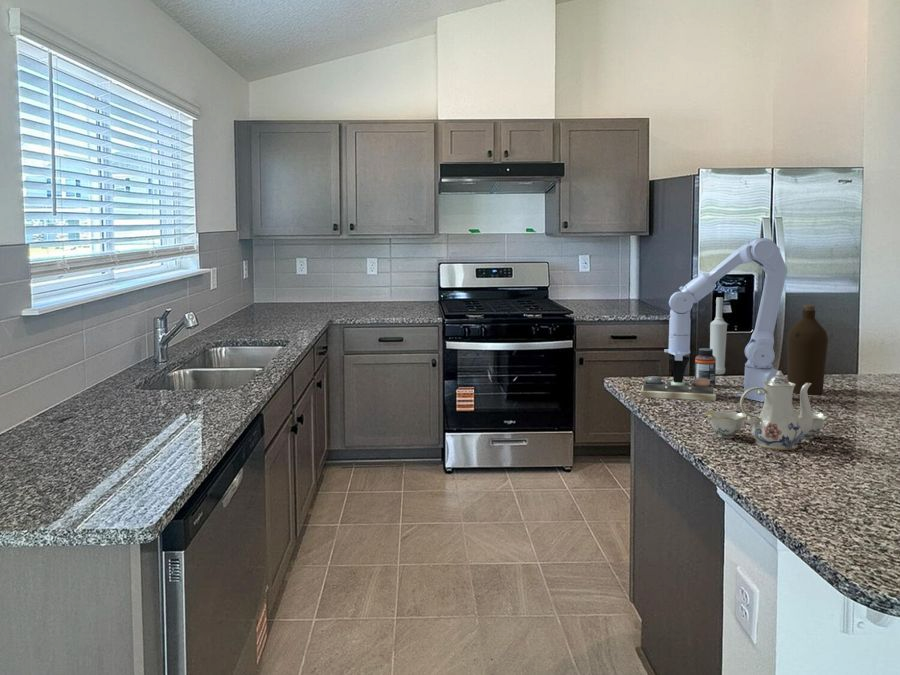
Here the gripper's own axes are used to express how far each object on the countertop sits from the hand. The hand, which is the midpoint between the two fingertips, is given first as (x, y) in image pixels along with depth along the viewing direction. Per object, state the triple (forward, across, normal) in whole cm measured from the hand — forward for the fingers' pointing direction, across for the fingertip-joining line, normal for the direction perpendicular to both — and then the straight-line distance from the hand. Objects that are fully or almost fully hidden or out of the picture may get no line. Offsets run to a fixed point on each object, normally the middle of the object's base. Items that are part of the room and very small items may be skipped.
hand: (678, 382), depth 218 cm
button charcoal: (+1, 0, -6) cm, 7 cm away
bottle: (+4, -41, +12) cm, 43 cm away
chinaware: (+4, +46, +20) cm, 51 cm away
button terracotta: (+1, 0, +6) cm, 7 cm away
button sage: (+2, 0, 0) cm, 2 cm away
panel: (+4, 0, 0) cm, 4 cm away
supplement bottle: (+4, -17, +8) cm, 19 cm away
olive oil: (+4, -15, +35) cm, 38 cm away
